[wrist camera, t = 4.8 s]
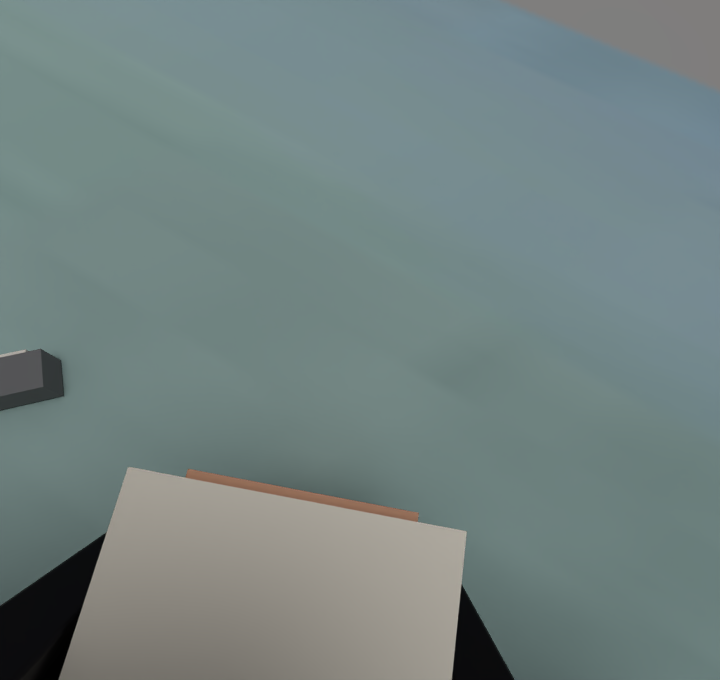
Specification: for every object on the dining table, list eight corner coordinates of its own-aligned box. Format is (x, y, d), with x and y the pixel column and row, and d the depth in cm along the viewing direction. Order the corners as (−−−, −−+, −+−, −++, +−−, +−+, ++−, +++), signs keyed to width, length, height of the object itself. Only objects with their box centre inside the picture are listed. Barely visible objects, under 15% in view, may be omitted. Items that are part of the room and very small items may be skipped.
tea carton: (362, 698, 14) (419, 1001, 5) (196, 667, 14) (-20, 917, 5) (390, 516, 15) (467, 520, 7) (241, 488, 15) (131, 455, 7)
